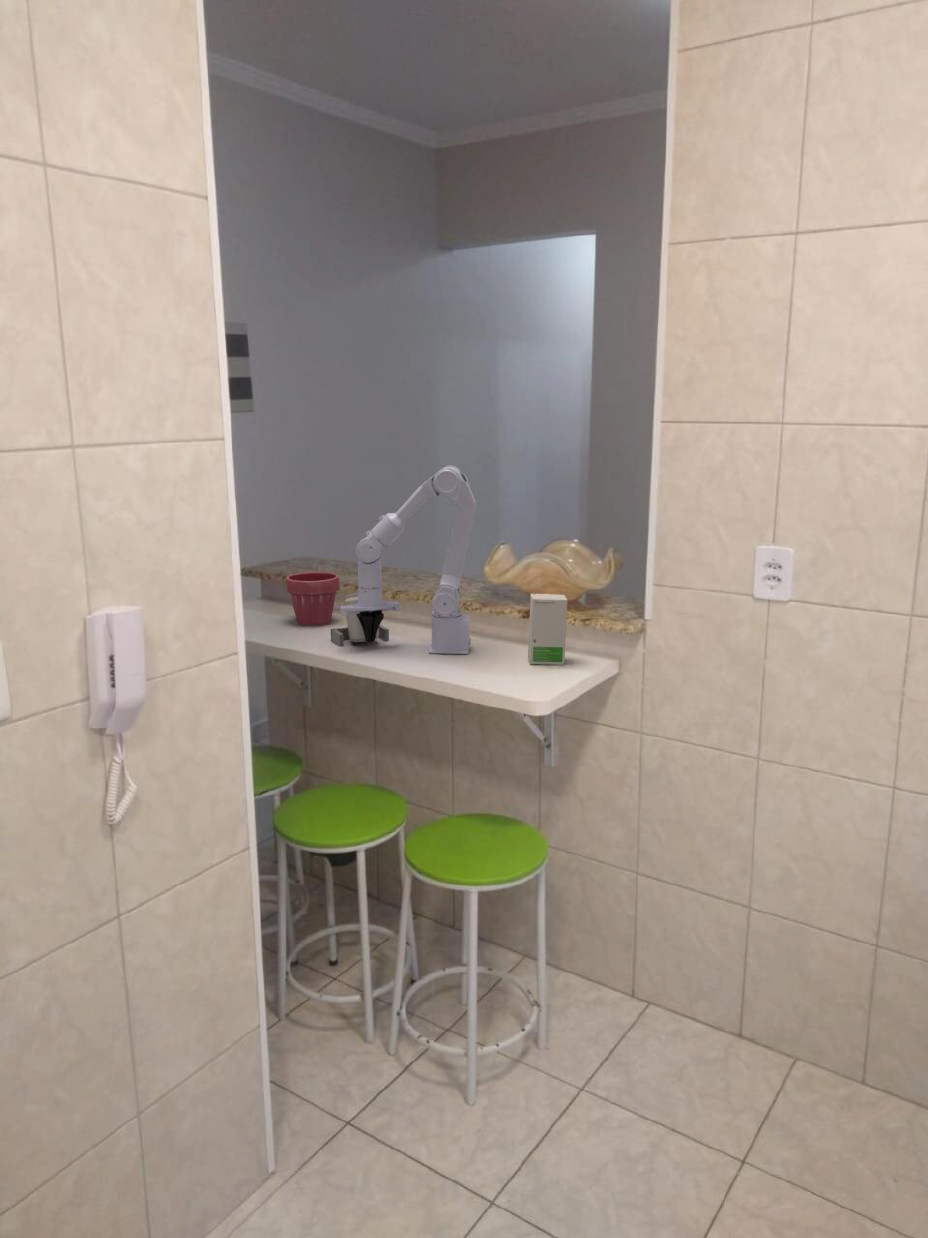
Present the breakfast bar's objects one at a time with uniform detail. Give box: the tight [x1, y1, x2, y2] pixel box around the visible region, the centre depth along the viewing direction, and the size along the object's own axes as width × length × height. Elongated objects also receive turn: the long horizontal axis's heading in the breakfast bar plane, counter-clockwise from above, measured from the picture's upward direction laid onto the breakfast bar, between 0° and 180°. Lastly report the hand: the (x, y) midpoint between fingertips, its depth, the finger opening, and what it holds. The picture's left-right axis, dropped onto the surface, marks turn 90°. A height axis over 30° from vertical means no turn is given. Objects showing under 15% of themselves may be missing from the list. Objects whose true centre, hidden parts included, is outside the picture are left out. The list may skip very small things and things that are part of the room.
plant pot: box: [285, 571, 340, 627], centre depth 256 cm, size 14×14×13 cm
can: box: [344, 593, 379, 643], centre depth 236 cm, size 8×8×12 cm
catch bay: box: [330, 624, 390, 647], centre depth 238 cm, size 6×13×3 cm, turn 117°
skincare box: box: [527, 593, 569, 666], centre depth 220 cm, size 8×7×16 cm
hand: (370, 641), depth 231 cm, fingers closed, pressing on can
